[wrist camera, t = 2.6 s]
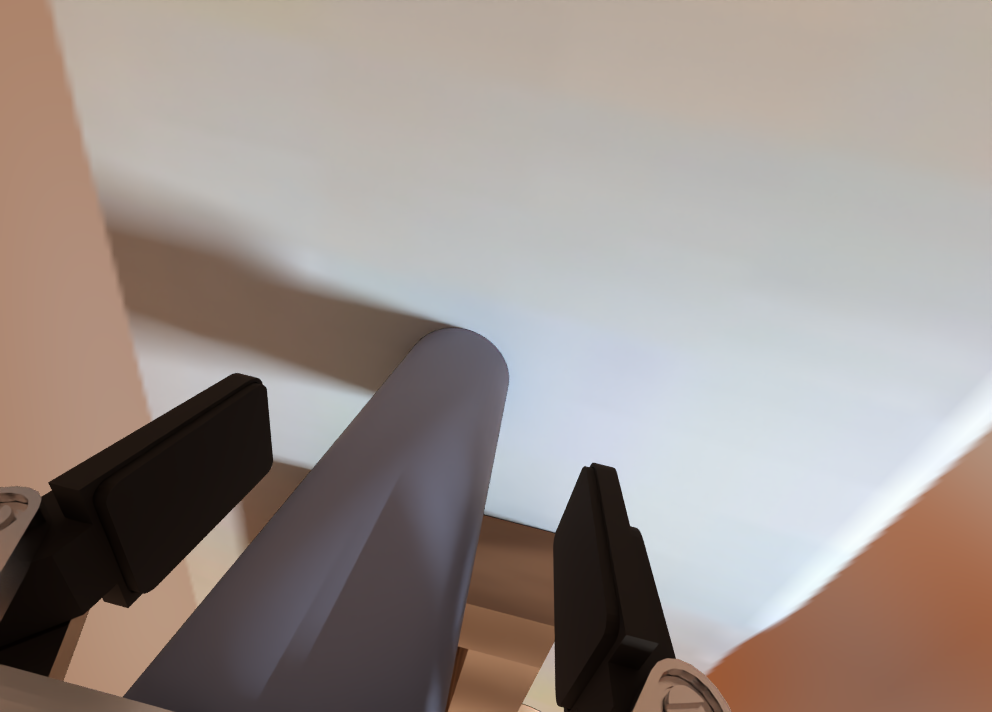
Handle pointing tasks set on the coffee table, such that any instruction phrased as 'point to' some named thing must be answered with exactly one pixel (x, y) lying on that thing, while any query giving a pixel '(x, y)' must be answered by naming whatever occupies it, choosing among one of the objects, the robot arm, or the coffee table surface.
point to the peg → (356, 558)
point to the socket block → (504, 619)
